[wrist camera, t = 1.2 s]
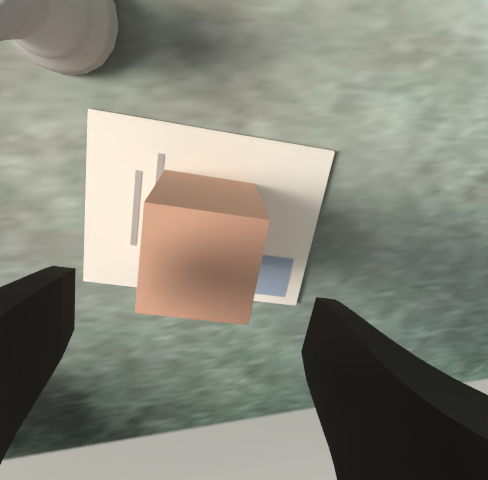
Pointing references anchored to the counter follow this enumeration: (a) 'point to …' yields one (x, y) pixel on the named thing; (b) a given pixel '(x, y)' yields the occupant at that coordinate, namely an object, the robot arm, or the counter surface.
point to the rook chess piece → (61, 32)
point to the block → (200, 248)
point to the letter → (201, 163)
